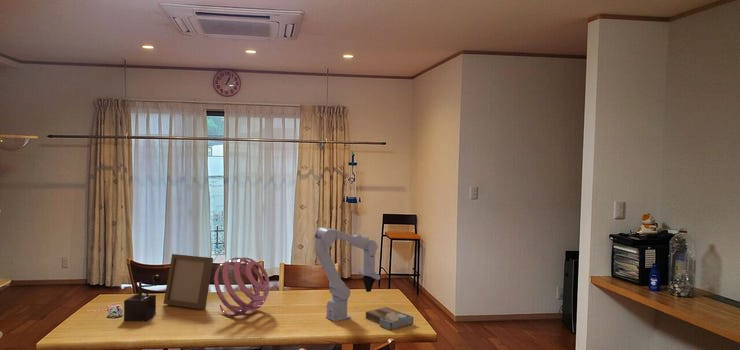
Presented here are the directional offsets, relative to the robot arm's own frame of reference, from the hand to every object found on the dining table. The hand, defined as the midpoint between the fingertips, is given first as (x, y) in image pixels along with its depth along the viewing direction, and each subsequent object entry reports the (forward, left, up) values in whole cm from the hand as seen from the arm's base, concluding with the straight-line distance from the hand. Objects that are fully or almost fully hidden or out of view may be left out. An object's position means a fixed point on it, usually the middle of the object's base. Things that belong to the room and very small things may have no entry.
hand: (368, 291), depth 237 cm
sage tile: (+2, -20, -10) cm, 23 cm away
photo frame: (-64, +63, -11) cm, 90 cm away
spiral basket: (-50, +34, -11) cm, 61 cm away
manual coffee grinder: (-88, +58, -11) cm, 106 cm away
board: (0, -12, -10) cm, 16 cm away
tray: (-2, -22, -10) cm, 24 cm away
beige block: (-3, -20, -8) cm, 22 cm away
